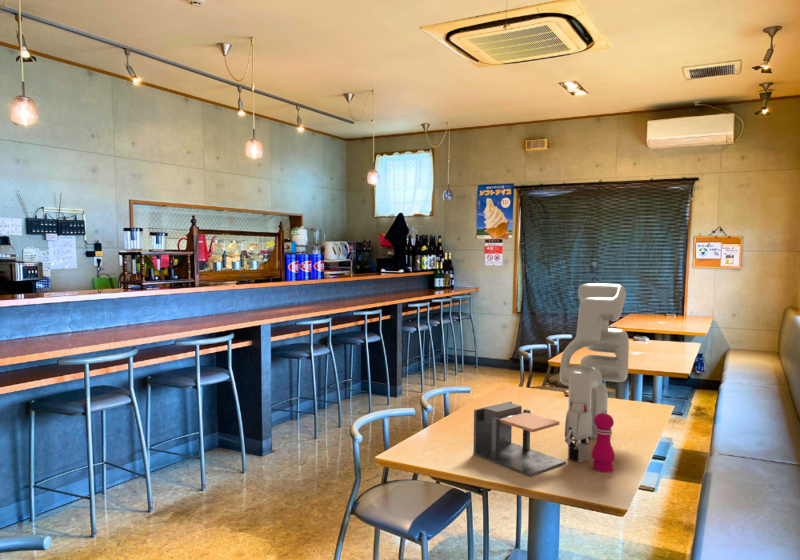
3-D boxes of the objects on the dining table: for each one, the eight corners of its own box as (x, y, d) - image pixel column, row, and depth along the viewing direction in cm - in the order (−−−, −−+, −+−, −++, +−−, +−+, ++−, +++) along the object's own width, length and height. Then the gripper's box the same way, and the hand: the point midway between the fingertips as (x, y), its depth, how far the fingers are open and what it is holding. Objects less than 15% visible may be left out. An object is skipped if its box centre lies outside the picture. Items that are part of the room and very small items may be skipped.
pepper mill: (587, 464, 189) (589, 406, 188) (608, 464, 189) (609, 405, 189) (597, 473, 182) (598, 412, 181) (618, 472, 182) (619, 411, 181)
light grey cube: (576, 455, 198) (576, 441, 198) (589, 459, 194) (589, 445, 194) (568, 458, 195) (568, 444, 195) (580, 462, 191) (580, 448, 191)
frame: (509, 443, 209) (509, 401, 209) (566, 463, 190) (567, 416, 189) (473, 454, 198) (474, 409, 197) (530, 476, 178) (530, 427, 177)
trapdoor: (509, 416, 206) (509, 402, 206) (559, 430, 189) (559, 415, 189) (483, 422, 197) (483, 408, 197) (532, 438, 180) (533, 423, 180)
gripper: (584, 400, 202) (583, 449, 203) (555, 407, 192) (554, 460, 192) (603, 404, 196) (602, 455, 197) (574, 412, 186) (573, 466, 186)
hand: (578, 457), depth 195 cm, fingers closed on light grey cube, 5 cm apart
